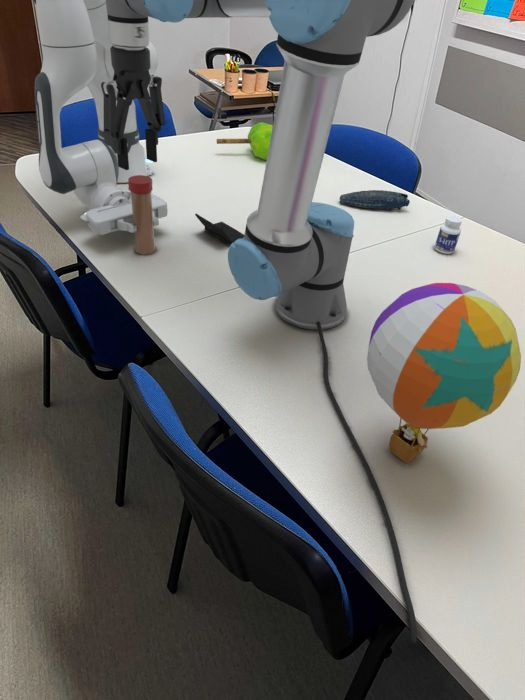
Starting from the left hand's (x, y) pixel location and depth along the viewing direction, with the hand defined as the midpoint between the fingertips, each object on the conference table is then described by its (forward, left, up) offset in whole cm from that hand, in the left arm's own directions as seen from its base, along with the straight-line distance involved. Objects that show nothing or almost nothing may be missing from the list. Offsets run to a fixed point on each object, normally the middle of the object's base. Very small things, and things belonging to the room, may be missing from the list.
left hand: (145, 226), depth 124 cm
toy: (+73, +30, -7) cm, 80 cm away
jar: (-1, 0, -7) cm, 7 cm away
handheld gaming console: (-4, +20, -7) cm, 21 cm away
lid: (-1, 0, +11) cm, 11 cm away
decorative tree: (-65, +49, -7) cm, 81 cm away
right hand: (-1, -1, +14) cm, 15 cm away
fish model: (-17, +71, -7) cm, 73 cm away
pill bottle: (+13, +78, -7) cm, 79 cm away
